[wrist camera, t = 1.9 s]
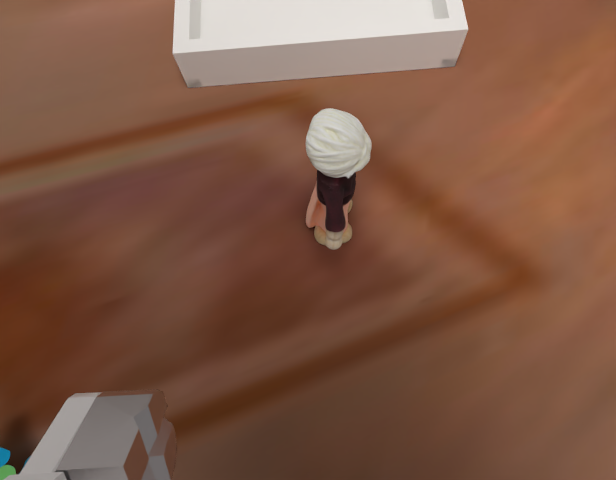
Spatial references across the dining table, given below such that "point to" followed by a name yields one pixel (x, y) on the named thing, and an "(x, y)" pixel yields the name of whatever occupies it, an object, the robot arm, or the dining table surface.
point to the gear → (3, 470)
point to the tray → (312, 38)
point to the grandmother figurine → (334, 173)
